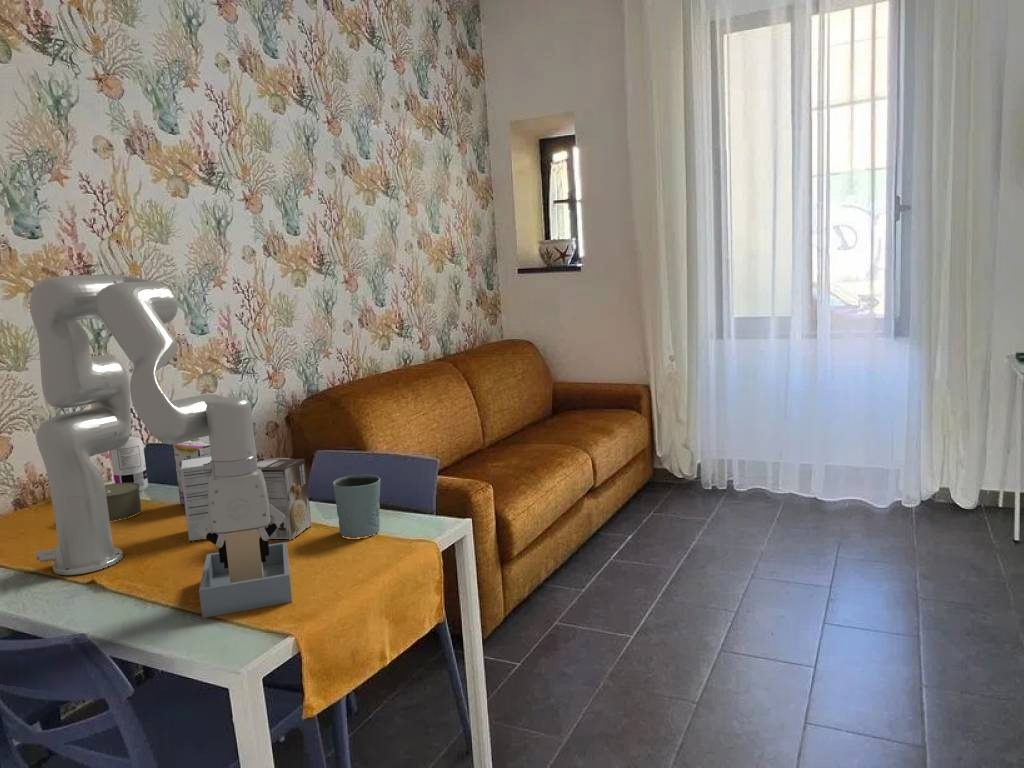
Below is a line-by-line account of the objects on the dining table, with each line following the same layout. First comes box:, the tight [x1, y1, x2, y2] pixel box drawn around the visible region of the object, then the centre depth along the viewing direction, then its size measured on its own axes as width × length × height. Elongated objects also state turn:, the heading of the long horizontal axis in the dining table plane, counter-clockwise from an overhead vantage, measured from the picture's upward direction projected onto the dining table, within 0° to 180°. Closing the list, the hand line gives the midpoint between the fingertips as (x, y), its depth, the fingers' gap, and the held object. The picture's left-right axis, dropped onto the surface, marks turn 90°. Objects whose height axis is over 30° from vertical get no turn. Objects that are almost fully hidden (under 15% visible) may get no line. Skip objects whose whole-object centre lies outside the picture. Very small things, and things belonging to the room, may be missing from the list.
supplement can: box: [110, 435, 149, 493], centre depth 206 cm, size 8×8×15 cm
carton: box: [225, 528, 263, 583], centre depth 133 cm, size 6×6×10 cm
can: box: [104, 483, 142, 521], centre depth 184 cm, size 12×12×7 cm
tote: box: [198, 541, 293, 619], centre depth 134 cm, size 15×18×5 cm
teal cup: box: [332, 474, 381, 538], centre depth 161 cm, size 10×10×12 cm
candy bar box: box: [172, 440, 211, 507], centre depth 187 cm, size 11×5×16 cm, turn 58°
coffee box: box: [260, 458, 312, 540], centre depth 163 cm, size 9×6×16 cm
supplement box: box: [180, 457, 218, 541], centre depth 166 cm, size 10×9×17 cm
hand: (245, 561), depth 134 cm, fingers open, 5 cm apart
